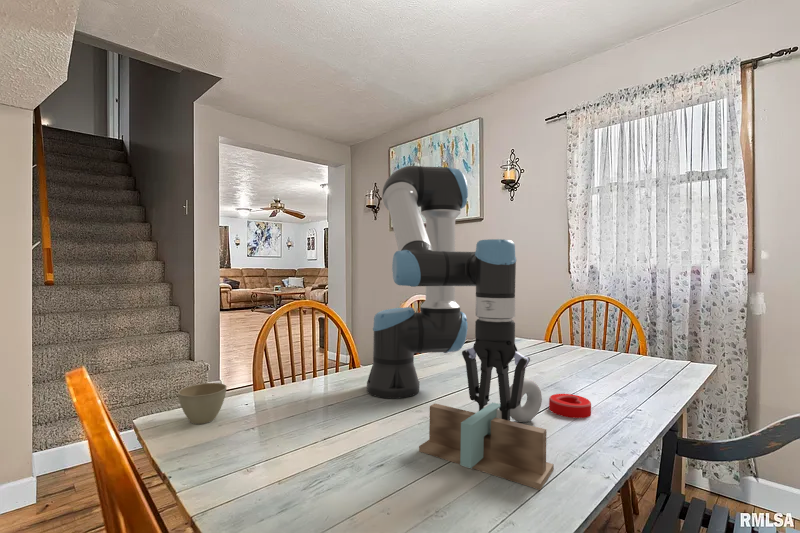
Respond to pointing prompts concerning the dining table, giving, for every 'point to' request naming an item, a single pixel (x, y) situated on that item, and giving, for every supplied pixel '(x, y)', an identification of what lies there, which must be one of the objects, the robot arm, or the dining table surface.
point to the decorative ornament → (570, 405)
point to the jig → (492, 446)
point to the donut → (527, 402)
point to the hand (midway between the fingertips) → (494, 439)
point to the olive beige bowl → (202, 401)
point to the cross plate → (476, 434)
